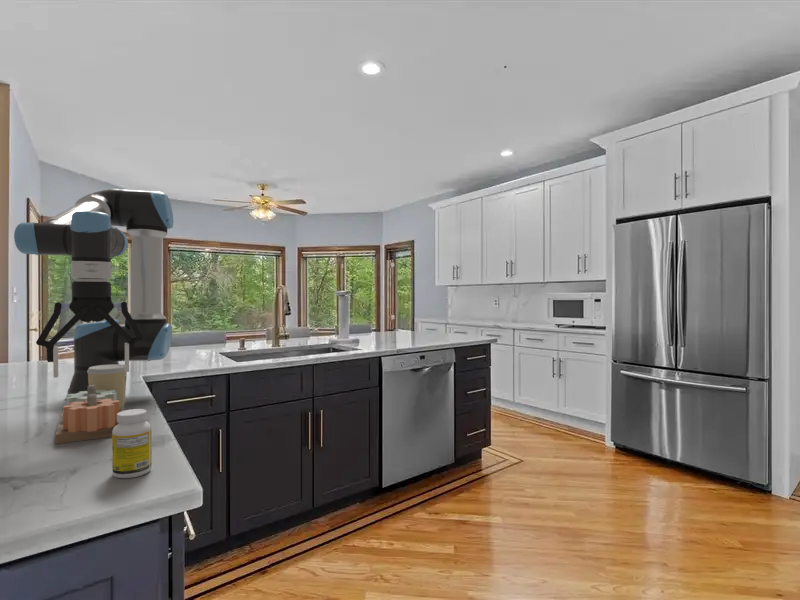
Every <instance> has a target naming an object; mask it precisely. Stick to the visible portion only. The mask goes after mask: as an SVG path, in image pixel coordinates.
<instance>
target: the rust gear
mask: <svg viewBox="0 0 800 600" xmlns="http://www.w3.org/2000/svg"><path fill="white" fill-rule="evenodd" d="M117 413H119V400H116V401H114V399H108V398H107V399H103V400H101V399H100V400H97V405H92V406H87V401H82V402H72V403H69V405H66V404H65V405H63V407H62V414H63V430H67V429H68V432H78V431H87V432H91V431H97V429H102V428H111V427H114V426H115V424H116V423H118V422H117Z"/></svg>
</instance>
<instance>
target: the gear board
mask: <svg viewBox="0 0 800 600" xmlns="http://www.w3.org/2000/svg"><path fill="white" fill-rule="evenodd" d="M92 405H97V394H96V385H91V386H88V395H87V406H92ZM121 411H123V410H122V408H119V412H121ZM118 424H119V423H116V424H115V426H116V425H118ZM115 426H114V427H115ZM114 427H111V428H102V429H97V431H91V432H87V431H78V432H68V429H67V430H63V413H60V415H59V419H58V424H57V428H56V433H55V445H56V444H57V445H58V444H66V443H73V442H80V441H88V440H96V439H103V438H110V437H111V438H112V431H113V428H114Z"/></svg>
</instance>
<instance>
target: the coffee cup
mask: <svg viewBox="0 0 800 600" xmlns="http://www.w3.org/2000/svg"><path fill="white" fill-rule="evenodd" d="M87 373H88V383H89V386H91V385H96V390H105V391H110V390H114V391H116V393H117V400H119V408H122V411H124V410H125V402H126V401H125V400H126V389H127V377H128V376H127V373H128V372H125V364H110V365H98V366H92V367H89V368H88V370H87Z"/></svg>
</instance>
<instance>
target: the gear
mask: <svg viewBox="0 0 800 600" xmlns="http://www.w3.org/2000/svg"><path fill="white" fill-rule="evenodd" d="M96 394H97V400H100V399H101V400H103V399H107V398H108V399H114V401H116V400H117V393H116V391H114V390H110V391H105V390H96ZM87 395H88V391H82V392H78V393H76V394H69V395H67V394H66V395H65V396H66V397H65V406H66V405H69V403H72V402H82V401H87Z"/></svg>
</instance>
